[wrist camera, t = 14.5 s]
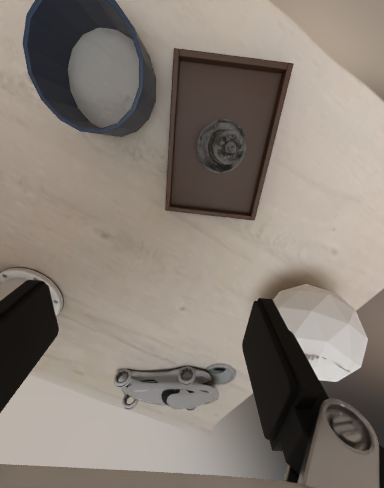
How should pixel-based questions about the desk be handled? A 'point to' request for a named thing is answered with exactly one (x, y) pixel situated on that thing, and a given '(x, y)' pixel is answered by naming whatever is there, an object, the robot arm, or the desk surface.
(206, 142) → the salt shaker
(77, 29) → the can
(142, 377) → the car model
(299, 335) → the geodesic sphere
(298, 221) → the desk surface
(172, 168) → the tray
